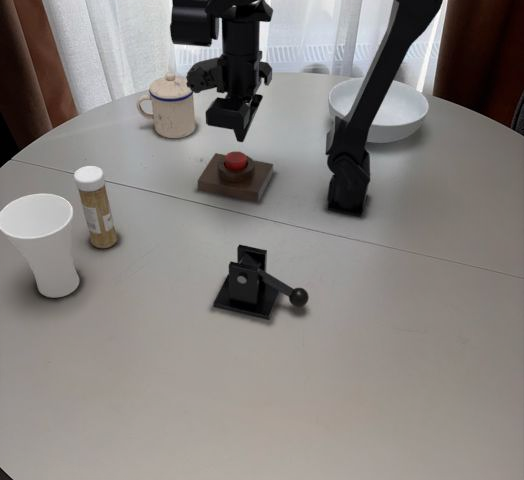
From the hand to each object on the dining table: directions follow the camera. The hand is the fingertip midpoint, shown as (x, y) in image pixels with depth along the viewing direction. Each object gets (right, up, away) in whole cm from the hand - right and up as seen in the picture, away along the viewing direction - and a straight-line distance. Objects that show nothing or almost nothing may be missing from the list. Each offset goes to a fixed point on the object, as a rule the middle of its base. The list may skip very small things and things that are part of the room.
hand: (240, 140), depth 101 cm
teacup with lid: (-16, +11, +23) cm, 31 cm away
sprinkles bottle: (-24, -18, -1) cm, 29 cm away
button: (-1, -2, +8) cm, 9 cm away
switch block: (-1, -4, +11) cm, 12 cm away
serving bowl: (+28, +11, +25) cm, 39 cm away
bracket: (+1, -29, -9) cm, 30 cm away
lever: (+5, -27, -13) cm, 30 cm away
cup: (-29, -26, -8) cm, 40 cm away
